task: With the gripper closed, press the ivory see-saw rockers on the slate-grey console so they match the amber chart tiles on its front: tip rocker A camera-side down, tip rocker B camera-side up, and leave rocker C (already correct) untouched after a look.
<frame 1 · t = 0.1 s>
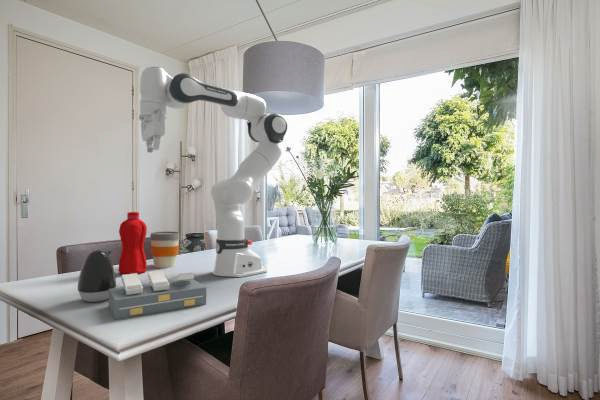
hand: (152, 151, 128), 48 cm above the table, tool pointing down, fingers open, 8 cm apart
rocker a: (182, 277, 106), point 7 cm above the table, hinge at 15.0°
reusable coffee cup: (164, 266, 159), on the table
rocker c: (132, 283, 98), point 7 cm above the table, hinge at -15.0°
rocker b: (158, 280, 102), point 7 cm above the table, hinge at -15.0°
water bottle: (131, 273, 144), on the table
black rounded dome: (97, 300, 107), on the table
console: (158, 305, 102), on the table
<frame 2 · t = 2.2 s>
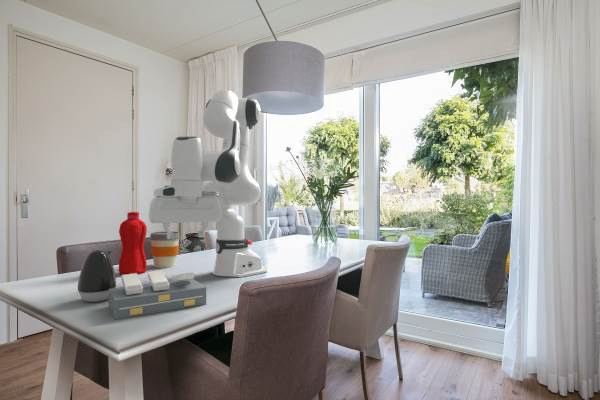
hand: (186, 238, 103), 19 cm above the table, tool pointing down, fingers open, 8 cm apart
nothing on the table moved.
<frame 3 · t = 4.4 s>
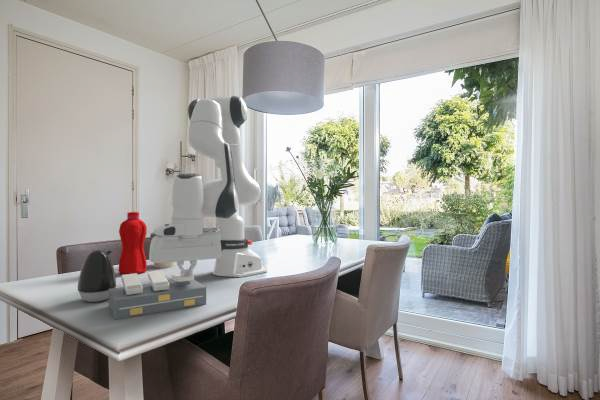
hand: (186, 276, 102), 9 cm above the table, tool pointing down, fingers closed, pressing on rocker a
rocker a: (182, 277, 106), point 7 cm above the table, hinge at 8.5°, touching gripper
everything else where it was.
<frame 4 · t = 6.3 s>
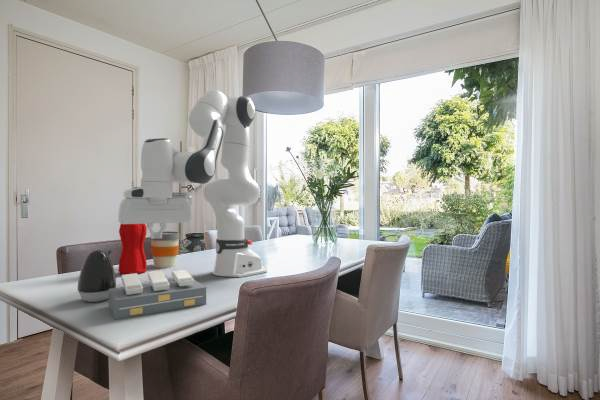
hand: (156, 238, 105), 19 cm above the table, tool pointing down, fingers closed
rocker a: (182, 277, 106), point 7 cm above the table, hinge at -9.3°
everything else where it was.
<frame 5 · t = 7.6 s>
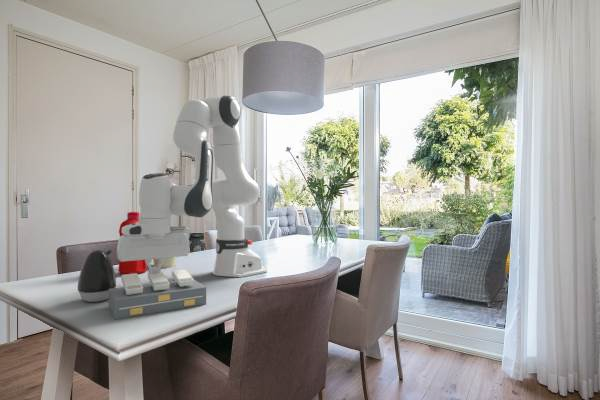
hand: (154, 273, 105), 9 cm above the table, tool pointing down, fingers closed, pressing on rocker b
rocker a: (182, 277, 106), point 7 cm above the table, hinge at -10.3°
rocker b: (158, 280, 102), point 7 cm above the table, hinge at -13.1°, touching gripper
everything else where it was.
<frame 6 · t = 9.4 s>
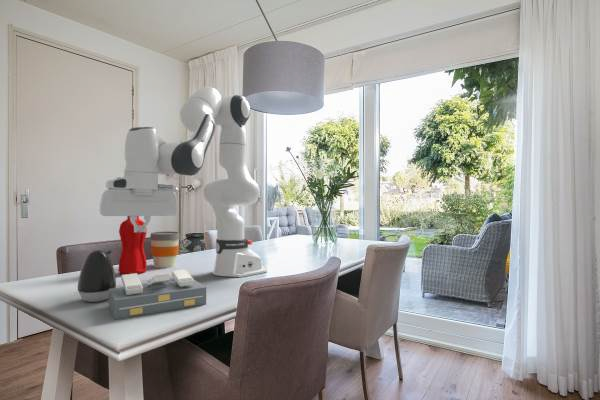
hand: (140, 232, 100), 21 cm above the table, tool pointing down, fingers closed
rocker b: (158, 280, 102), point 7 cm above the table, hinge at 20.0°, touching console
everything else where it was.
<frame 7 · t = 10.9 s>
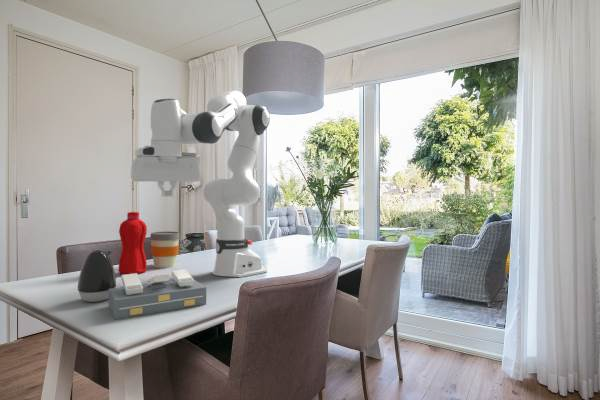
hand: (167, 196, 109), 32 cm above the table, tool pointing down, fingers closed
rocker b: (158, 280, 102), point 7 cm above the table, hinge at 18.5°
everything else where it was.
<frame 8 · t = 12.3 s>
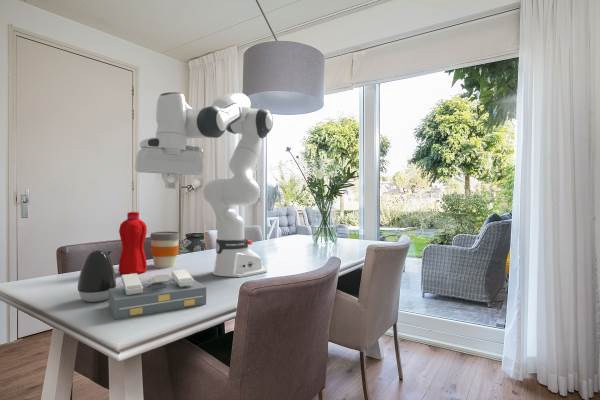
hand: (170, 188, 110), 34 cm above the table, tool pointing down, fingers closed
nothing on the table moved.
at the end: rocker a at -11° (first picture: +15°); rocker b at +18° (first picture: -15°); rocker c at -15° (first picture: -15°) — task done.
